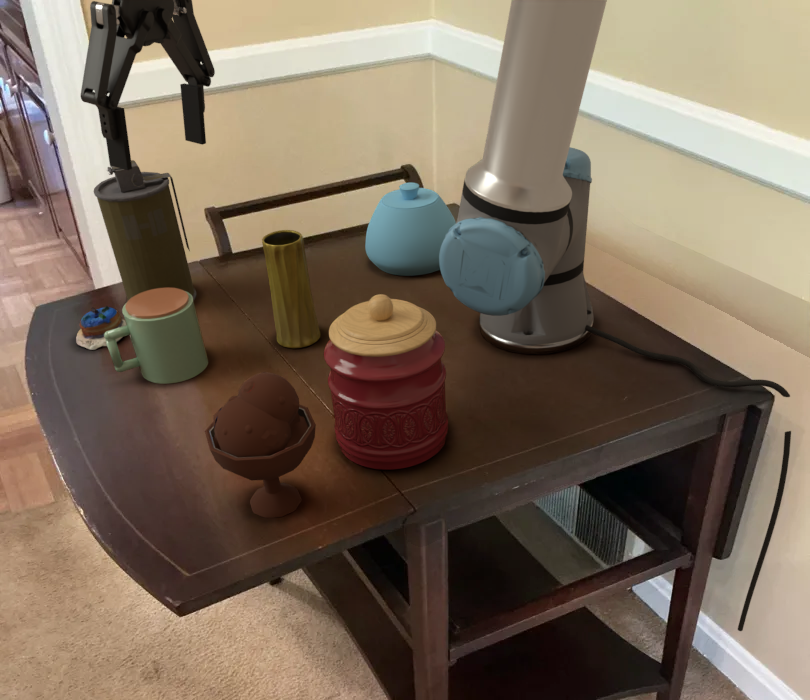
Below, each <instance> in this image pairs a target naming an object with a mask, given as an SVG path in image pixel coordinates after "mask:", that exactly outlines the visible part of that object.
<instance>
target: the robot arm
mask: <svg viewBox="0 0 810 700" xmlns="http://www.w3.org/2000/svg"><path fill="white" fill-rule="evenodd" d="M607 2H608V0H511V2H510V8H509V12H508V16H507V17H508V19H507V24H506V27H505V28H506V29H505V34H504V40H503V45H502V51H501V56H500V61H499V62H500V63H499V67H498V72H497V78H496V84H495V89H494V93H493V94H494V95H493V100H492V103H491V104H492V106H491V110H490V116H489V122H488V127H487V132H486V138H485V143H484V148H483V153H482V158H481V159H480V160H479V161H477V162H476V163H475V164H473V165H471V166H470V167H468V169H467V170H466V172H465V176H464V180H463V186H462V192H461V197H460V202H459V208H458V213H457V219H456V221H455V222H456V224H455V225H453V226H452V227H451V228H450V229H449V231H448V232H447V234H446V235H445V239H444V241H443V243H442V245H441V249H440V254H439V264H440V270H439V271H440V274H441V277H442V278H443V282H444V284H445V285H446V287H447V288H449V289H450V291H451V292H452V293H453V296H454V297H455V299H456V300H458V301H459V302H460V303H461V304H463V305H464V306H465V307H467V308H469V309H470V310H472V311H475V312H477V313H479V331H480V334H481V336H482V337H483V339H485V340H486V341H487V342H488V343H490V344H491V345H493V346H495V347H496V348H500V349H501V350H505V351H509V352H513V353H518V354H526V355H542V354H543V355H544V354H545V355H547V354H551V353H552V354H554V353H558V352H563V351H567V350H569V349H572V348H576V347H577V346H579V345H580V344H582V343H584V342H585V341H586V340H587V339H589V337H590V336H591V334H592V335H595V336H598V337H601V338H603V339H605V340H608V341H610V342H612V343H614V344H616V345H619V346H621V347H623V348H625V349H627V350H628V351H630V352H633V353H636V354H637V355H640V356H644V357H646V358H650V359H654V360H659V361H665V362H671V363H676V364H680V365H682V366H684V367H686V368H687V369H689V370H691V371H692V372H693V373H694V374H695V375H696V376H697V377H698V378H699V379H700V380H701V381H703V382H705V383H707V384H710V385H712V386H716V387H720V388H744V387H758V386H759V387H767V388H770V389H773V390H774V391H775V392H778V394H780V396H782V397H783V398H790V397H791V394H790V393H789V392H788V390H787V389H786V388H785V387H783V386H782V385H781V384H779V383H777V382H775V381H771V380H768V379H744V380H730V381H729V380H719V379H716V378H712V377H710V376H709V375H707V374H705V373H704V372H703V371H702V370H701V369H700V368H699V367H698V366H697V365H696V364H695V363H693V362H691V361H690V360H687V359H685V358H682V357H679V356H675V355H670V354H664V353H657V352H652V351H649V350H647V349H646V350H645V349H643V348H641V347H638V346H636V345H633V344H632V343H629V342H627V341H625V340H623V339H621V338H619V337H617V336H615V335H612V334H610V333H608V332H605V331H602V330H600V329H598V328H595V327H594V320H595V319H594V318H595V317H594V310H593V306H592V301H591V298H590V293H589V291H588V286H587V282H586V278H585V273H584V269H585V268H584V265H585V255H586V241H587V230H588V218H589V217H588V216H589V203H590V193H591V184H592V183H593V178H592V162H591V158H590V156H589V155H588V154H587V153H586V152H585V151H583V150H581V149H578V148H575V147H571V143H572V139H573V135H574V131H575V127H576V123H577V121H578V120H577V119H578V116H579V112H580V109H581V104H582V99H583V96H584V92H585V88H586V84H587V81H588V77H589V72H590V68H591V64H592V60H593V58H594V57H593V56H594V52H595V50H596V49H595V48H596V45H597V40H598V36H599V33H600V29H601V26H602V25H601V24H602V22H603V18H604V13H605V9H606V5H607ZM89 5H90V6H89V9H90V23H91V24H90V25H91V27H90V34H89V39H88V45H87V52H86V59H85V65H84V71H83V77H82V83H81V90H80V100H81V101H82V102H83V103H86V104H90V105H94V106H95V107H96V108H97V111H98V116H99V123H100V131H101V135H102V137H103V138H104V139H105V142H106V148H107V155H108V156H107V157H108V162H109V167H110V166H114V167H117V168H121V169H125V170H130V169H132V164H131V160H132V158H131V157H132V156H131V150H130V149H131V148H130V141H129V136H128V135H129V134H128V127H127V119H126V113H125V112H126V111H125V107H120V106H119V103H120V101H121V99H122V95H123V92H124V90H125V87H126V84H127V81H128V78H129V75H130V73H131V70H132V68H133V64H134V62H135V59H136V56H137V54H139V53H141V51H142V50H143V47H149V46H152V45H154V44H160V45H161V46H162V48H163V50H164V51H165V53H166V54H167V56H168V57H169V59H170V60H171V62H172V64H173V65H175V67H176V69H177V70H178V72H179V73H180V75H181V77H182V78H183V80H184V81H185V82H186V83H181V84H179V85H180V94H181V95H180V96H181V109H182V117H183V129H184V130H183V131H184V139H185V141H187V142H190V143H193V144H197V145H202V146H203V145H205V144H207V138H206V125H205V112H206V103H205V102H206V101H205V90H204V89H205V88H204V87H210V86H211V84H212V78H213V77H215V74H216V70H215V66H214V63H213V62H212V59H211V56H210V54H209V51H208V48H207V45H206V42H205V40H204V37H203V34H202V32H201V30H200V27H199V24H198V22H197V18H196V15H195V13H194V5H193V0H112V1H111V3H107V2H101V1H97V0H92V1H91V2H90V4H89ZM791 439H792V430H788V431H784V438H783V453H782V461H781V468H780V469H781V470H780V474H779V481H778V486H777V491H776V495H775V499H774V505H773V508H772V512H771V516H770V520H769V523H768V526H767V530H766V533H765V536H764V539H763V542H762V546H761V550H760V552H759V556H758V559H757V562H756V564H755V567H754V571H753V574H752V577H751V580H750V583H749V586H748V590H747V593H746V596H745V600H744V602H743V607H742V611H741V614H740V619H739V621H738V626H737V631H739V632H742V631H744V626H745V624H746V623H745V622H746V619H747V615H748V612H749V609H750V605H751V601H752V598H753V595H754V593H755V588H756V585H757V582H758V580H759V576H760V573H761V570H762V567H763V565H764V561H765V558H766V555H767V552H768V548H769V545H770V542H771V539H772V536H773V533H774V529H775V526H776V523H777V519H778V516H779V513H780V512H779V511H780V507H781V503H782V500H783V494H784V490H785V485H786V480H787V474H788V469H789V461H790V452H791Z"/></svg>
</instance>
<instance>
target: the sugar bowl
mask: <svg viewBox="0 0 810 700" xmlns="http://www.w3.org/2000/svg"><path fill="white" fill-rule="evenodd" d="M398 188H399V189H394V190H391V191H389V192H387V193H386V194H384V195H383V196H382V197H381V199H380V200H379V201H378V204H377V205H376V207H375V209H374V211H373V213H372V215H371V217H370V220H369V221H368V225H367V229H366V234H365V244H364V247H365V253H366V256H367V258H368V259H369V261H371V263H373V264H374V265H375V267H377V268H378V269H379V270H381V271H382V272H384V273H387V274H390V275H394V276H402V277H403V276H404V277H410V276H411V277H413V276H421V275H428V274H433V273H434V272H438V271H441V270H440V264H439V254H440V249H441V245H442V243H443V241H444V239H445V235H446V234H447V232H448V231H449V229H450V228H451V227H452V226H453V225H455V224H456V222H457V221H456V219H455V217H454V215H453V214H452V212H451V210H450V208H449V207H448V205H447V204H446V203H445V201H444V199H442V197H441V196H440V195H439V194H438V193H437V192H436V191H435V190H432V189H429V188H425V187H420V184H419V183H417V182H413V181H411V182H404V183H402V184H400V185H399V186H398Z"/></svg>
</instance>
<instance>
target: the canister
mask: <svg viewBox="0 0 810 700" xmlns="http://www.w3.org/2000/svg"><path fill="white" fill-rule="evenodd" d="M131 164H132V169H130V170H125V169H121V168H117V167H114V166H110V165H109V166H107V169H106V171H107V172H108V175H109V176H113V174H114V176H113V177H109V178H106V179H105V180H103V181H100V182H99V183H98V184H97V185H96V186H95V187H94V188H93V195H94V196H95V197H96V199H97V202H98V205H99V210H100V212H101V215H102V220H103V222H104V226H105V229H106V232H107V236H108V239H109V242H110V246H111V249H112V252H113V255H114V259H115V263H116V266H117V269H118V272H119V275H120V279H121V282H122V285H123V288H124V292H125V295H126V300H127V301H128V300H129V299H131V298H132V297H134V296H135V295H137V294H139V293H142V292H144V291H148V290H151V289H157V288H178V289H181V290H184V291H186V292H188V293H190V294H191V295H192V297H193V300H194V301H195V300H196V298H197V291H196V288H195V287H194V284H193V280H192V274H191V272H190V271H191V270H190V267H189V263H188V262H189V261H188V258H187V255H186V251H185V246H186V248H187V250H188V252H191V251H190V246H189V241H188V236H187V234H186V228H185V224H184V220H183V217H182V212H181V209H180V203H179V201H178V195H177V191H176V188H175V184H174V179H173V177H172V175H171V174H170V172H164V173H160V172H155V171H154V172H153V171H141V169H140V167H139V165H138V164H137V162H136V160H134V159H131ZM170 184H171V188H172V192H173V196H174V199H175V204H176V208H177V212H178V217H179V220H180V224H181V229H182V232H183V237H184V241H185V246H184V243H183V239H182V238H183V237H182V234H181V230H180V226H179V221H178V217H177V213H176V209H175V205H174V200H173V197H172V192H171V188H170Z"/></svg>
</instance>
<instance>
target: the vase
mask: <svg viewBox="0 0 810 700" xmlns="http://www.w3.org/2000/svg"><path fill="white" fill-rule="evenodd" d="M261 243H262V249H263V255H264V259H265V265H266V272H267V277H268V284H269V285H268V286H269V290H270V297H271V304H272V305H271V306H272V312H273V320H274V327H275V332H276V342H277V343H278V345H280V346H281V347H283V348H287V349H302V348H303V349H304V348H306V347H307V348H308V347H309V346H312V345H315V343H317V342H318V341H319V339H320V338H321V331H320V326H319V322H318V318H317V312H316V307H315V303H314V298H313V294H312V289H311V283H310V276H309V269H308V263H307V262H308V261H307V255H306V248H305V241H304V236H303V234H302V233H300V231H297V230H293V229H281V230H275V231H272V232H269V233H267V234H265V235H264V236H263V237H262V238H261Z"/></svg>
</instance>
